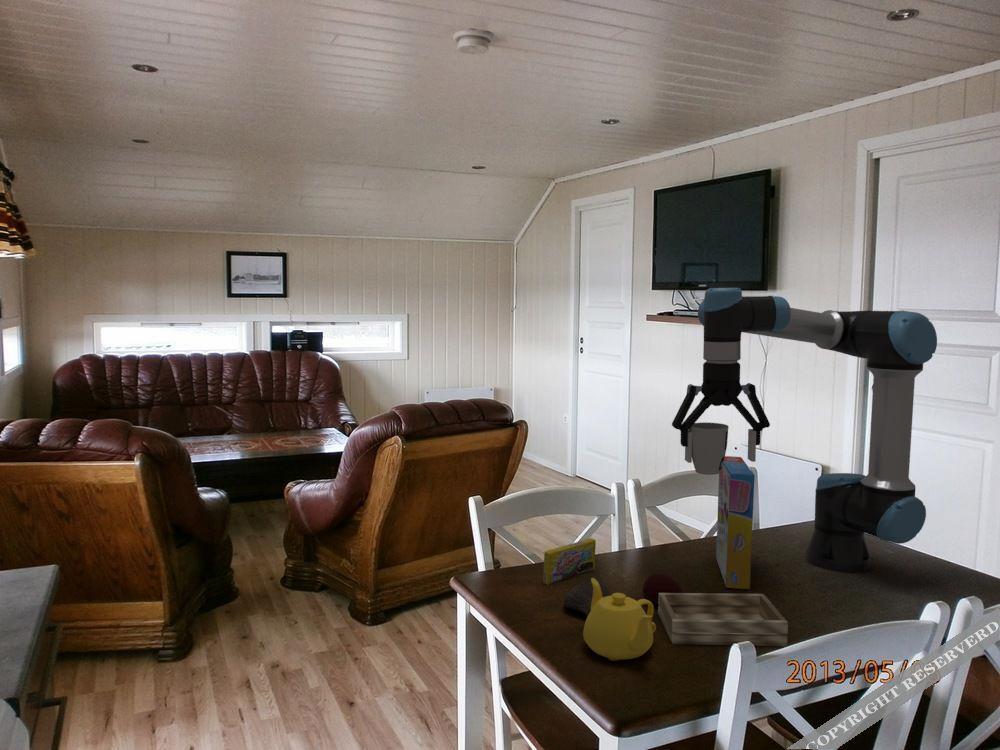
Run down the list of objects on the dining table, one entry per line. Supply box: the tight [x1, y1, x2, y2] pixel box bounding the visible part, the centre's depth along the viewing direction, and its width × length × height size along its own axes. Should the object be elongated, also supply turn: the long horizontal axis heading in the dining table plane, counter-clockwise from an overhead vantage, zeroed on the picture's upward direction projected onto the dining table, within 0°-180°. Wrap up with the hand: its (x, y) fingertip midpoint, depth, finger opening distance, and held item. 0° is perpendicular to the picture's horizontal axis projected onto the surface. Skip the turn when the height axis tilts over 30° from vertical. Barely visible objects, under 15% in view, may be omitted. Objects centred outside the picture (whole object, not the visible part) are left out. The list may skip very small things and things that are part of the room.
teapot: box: [582, 577, 657, 662], centre depth 141 cm, size 20×15×12 cm
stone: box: [563, 578, 612, 618], centre depth 158 cm, size 10×8×10 cm
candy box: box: [542, 537, 597, 586], centre depth 178 cm, size 16×2×8 cm, turn 131°
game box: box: [715, 455, 756, 590], centre depth 181 cm, size 21×6×27 cm, turn 170°
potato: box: [642, 572, 683, 606], centre depth 163 cm, size 7×8×7 cm
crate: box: [657, 592, 789, 647], centre depth 150 cm, size 22×14×5 cm, turn 89°
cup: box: [689, 422, 729, 476], centre depth 159 cm, size 8×8×10 cm
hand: (719, 461), depth 159 cm, fingers open, 13 cm apart
